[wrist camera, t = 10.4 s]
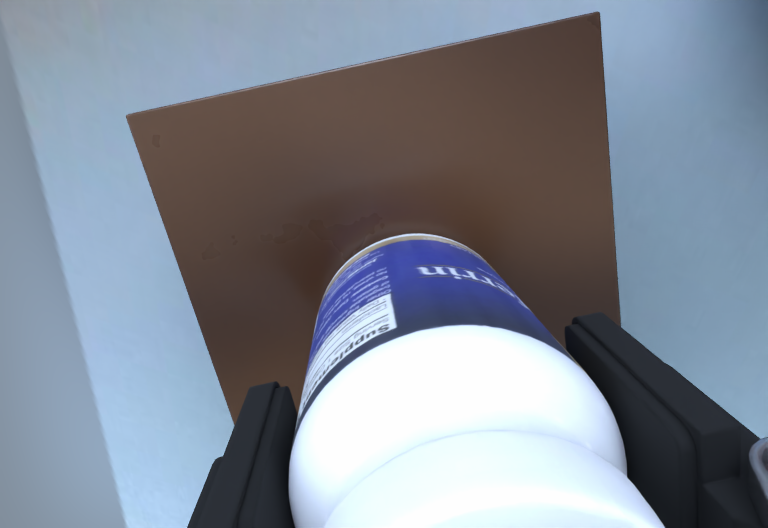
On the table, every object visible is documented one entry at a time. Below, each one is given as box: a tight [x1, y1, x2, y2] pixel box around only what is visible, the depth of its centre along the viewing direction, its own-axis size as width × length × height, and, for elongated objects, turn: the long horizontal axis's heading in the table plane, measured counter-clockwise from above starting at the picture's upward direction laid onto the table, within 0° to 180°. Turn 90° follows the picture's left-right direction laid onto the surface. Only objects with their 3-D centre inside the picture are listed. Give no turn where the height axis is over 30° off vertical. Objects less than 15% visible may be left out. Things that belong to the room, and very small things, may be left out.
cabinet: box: [126, 12, 621, 425], centre depth 20 cm, size 15×13×10 cm
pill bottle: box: [289, 234, 665, 528], centre depth 10 cm, size 6×6×10 cm
